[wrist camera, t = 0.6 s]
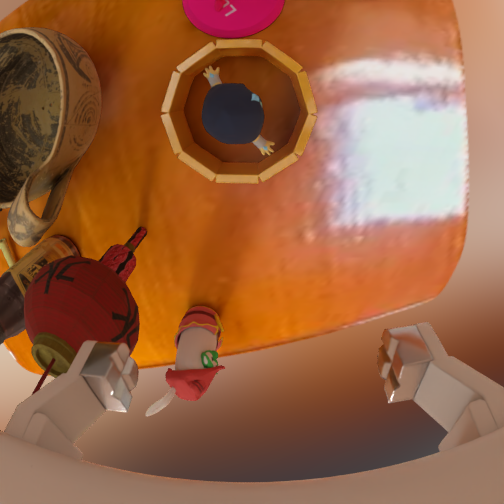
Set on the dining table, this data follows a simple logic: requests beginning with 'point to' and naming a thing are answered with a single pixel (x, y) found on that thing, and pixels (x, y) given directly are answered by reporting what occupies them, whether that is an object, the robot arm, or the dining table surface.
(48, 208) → the ceramic bowl
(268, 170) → the toy bowl
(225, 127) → the character figure
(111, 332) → the lantern
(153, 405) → the toy
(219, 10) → the figurine
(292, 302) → the dining table surface
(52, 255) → the sauce bottle
